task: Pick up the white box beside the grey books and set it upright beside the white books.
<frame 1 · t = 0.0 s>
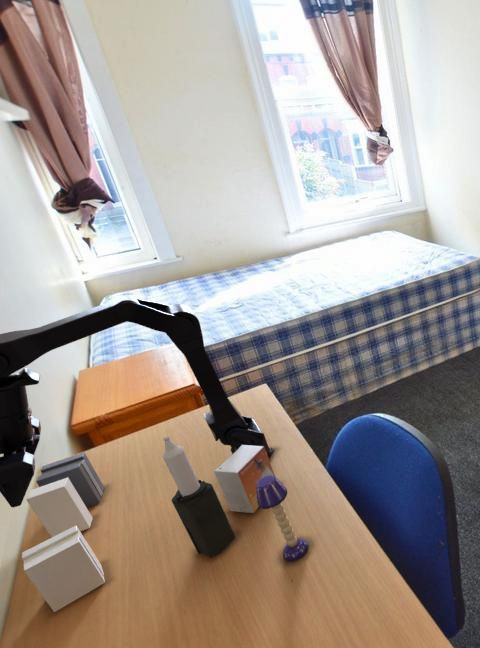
hand: (19, 491, 82), 15 cm above the table, tool pointing down, fingers open, 9 cm apart
white books: (78, 587, 81), on the table
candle: (216, 544, 87), on the table
toy lamp: (294, 551, 84), on the table
grey books: (82, 502, 101), on the table
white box: (74, 529, 94), on the table
small box: (256, 498, 97), on the table
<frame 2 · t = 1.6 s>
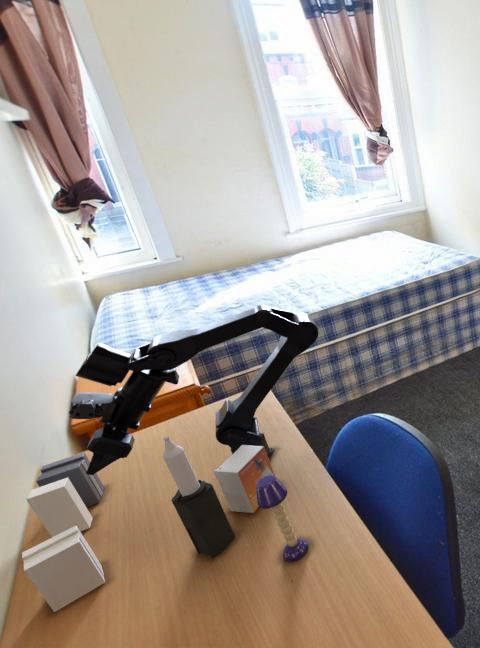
hand: (94, 460, 92), 13 cm above the table, tool tilted 45°, fingers open, 9 cm apart
nothing on the table moved.
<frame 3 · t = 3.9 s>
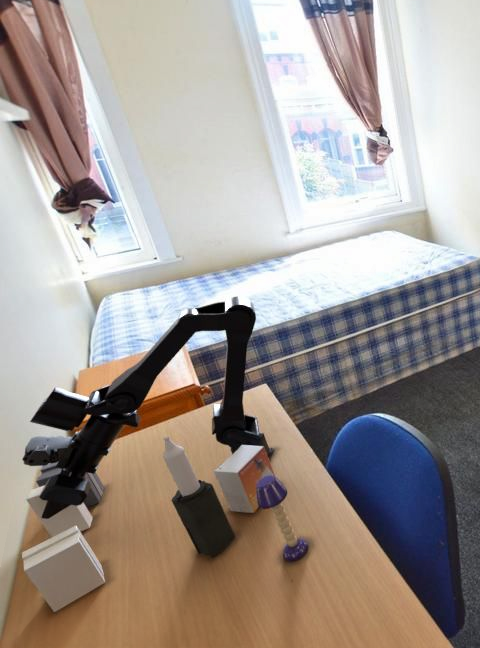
hand: (50, 504, 90), 7 cm above the table, tool tilted 45°, fingers open, 7 cm apart
nothing on the table moved.
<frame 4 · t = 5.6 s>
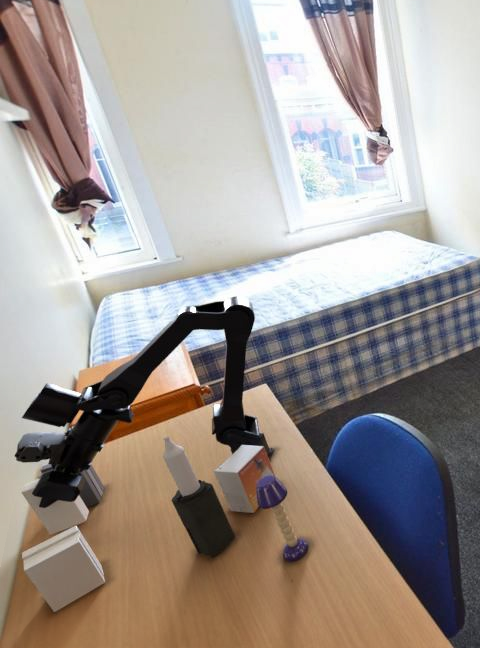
hand: (44, 501, 90), 8 cm above the table, tool tilted 45°, fingers closed on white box, 3 cm apart
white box: (70, 523, 93), point 2 cm above the table, touching gripper
everything else where it was.
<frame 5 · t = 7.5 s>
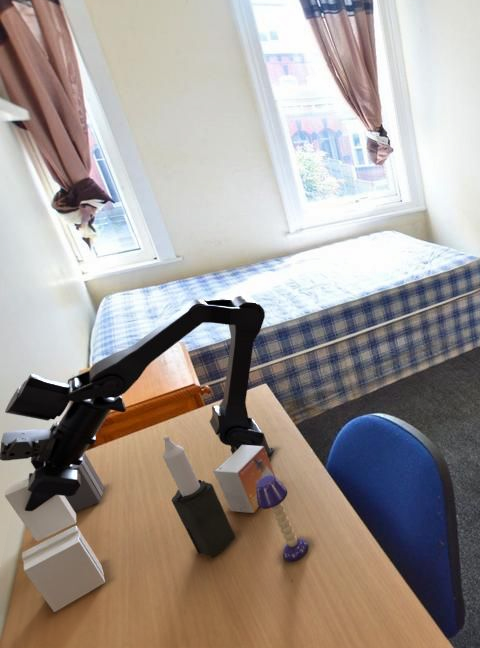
hand: (29, 505, 83), 12 cm above the table, tool tilted 45°, fingers closed on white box, 3 cm apart
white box: (57, 527, 87), point 6 cm above the table, touching gripper
everything else where it was.
when the fingers open (7 cm above the table, at t = 10.1 s): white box stays where it is, on the table.
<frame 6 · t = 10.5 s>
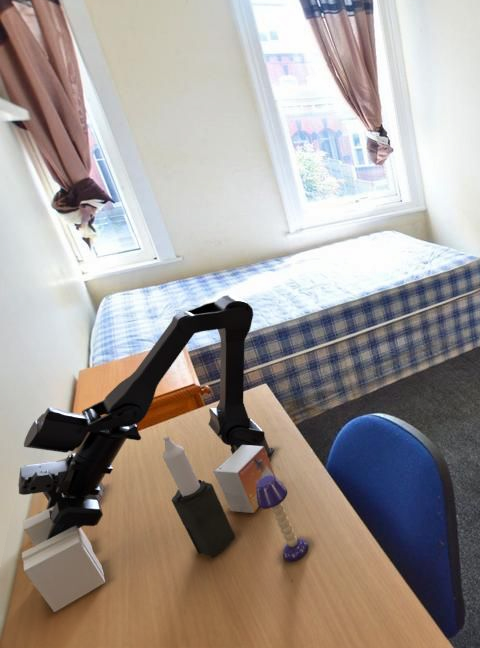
hand: (45, 537, 84), 7 cm above the table, tool tilted 45°, fingers open, 6 cm apart
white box: (73, 558, 87), on the table
everything else where it was.
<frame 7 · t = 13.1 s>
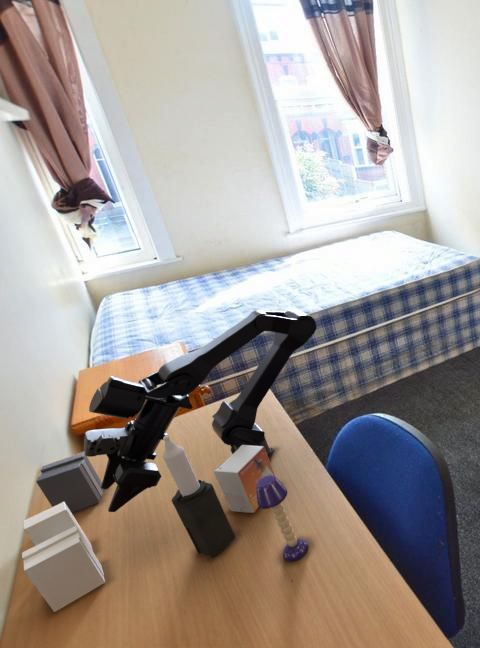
hand: (107, 499, 89), 8 cm above the table, tool tilted 45°, fingers open, 9 cm apart
nothing on the table moved.
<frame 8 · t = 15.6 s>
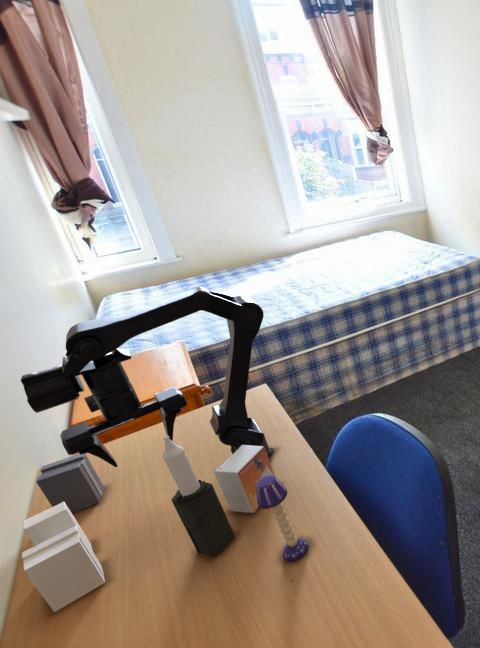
hand: (144, 452, 93), 13 cm above the table, tool pointing down, fingers open, 9 cm apart
nothing on the table moved.
at the end: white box 0.1 cm from the target spot, on the table; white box tilted 0°; the gripper is holding nothing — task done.
